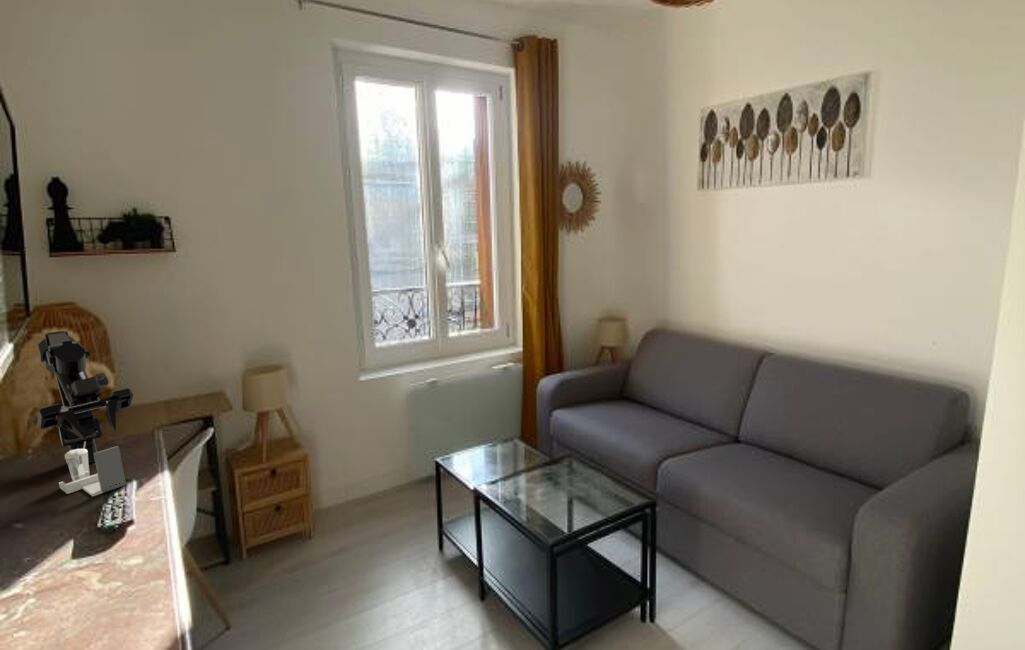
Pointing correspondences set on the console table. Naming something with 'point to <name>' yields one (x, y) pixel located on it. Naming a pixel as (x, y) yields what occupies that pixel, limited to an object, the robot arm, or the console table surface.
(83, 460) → the milkshake
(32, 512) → the console table surface
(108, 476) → the white bracket
